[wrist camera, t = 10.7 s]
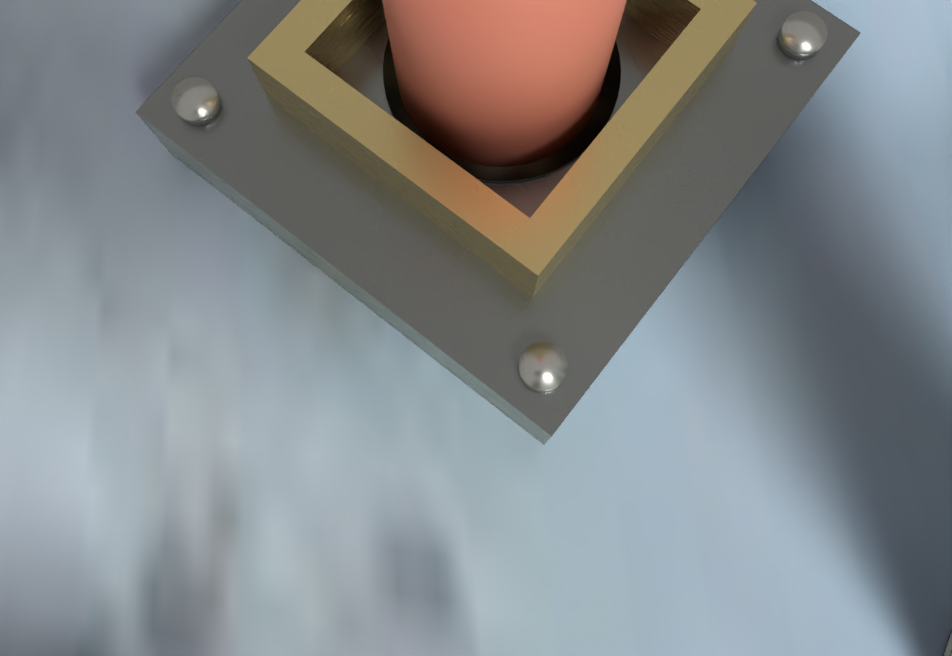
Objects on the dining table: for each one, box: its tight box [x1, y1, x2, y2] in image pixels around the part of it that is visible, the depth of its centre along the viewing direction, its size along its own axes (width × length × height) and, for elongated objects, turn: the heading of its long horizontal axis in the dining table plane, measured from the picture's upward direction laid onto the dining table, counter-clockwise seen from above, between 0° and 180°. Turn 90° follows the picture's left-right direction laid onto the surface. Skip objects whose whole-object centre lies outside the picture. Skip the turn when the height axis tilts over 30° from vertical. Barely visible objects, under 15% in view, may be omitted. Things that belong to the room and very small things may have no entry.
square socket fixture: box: [136, 0, 860, 444], centre depth 23 cm, size 14×14×4 cm
